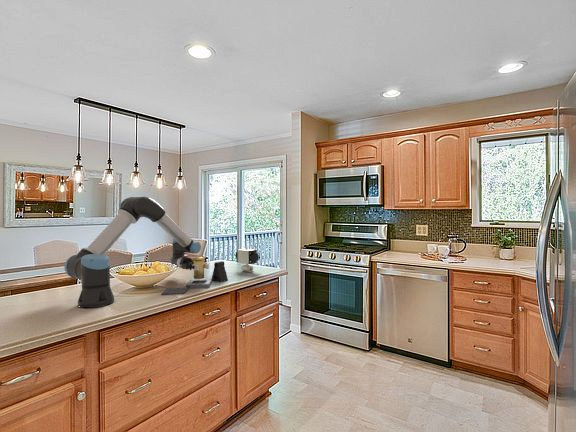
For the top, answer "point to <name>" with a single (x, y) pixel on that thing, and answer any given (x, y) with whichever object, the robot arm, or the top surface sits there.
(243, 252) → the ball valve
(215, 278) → the phone stand
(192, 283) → the housing
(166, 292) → the mat
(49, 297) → the top surface
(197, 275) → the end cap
